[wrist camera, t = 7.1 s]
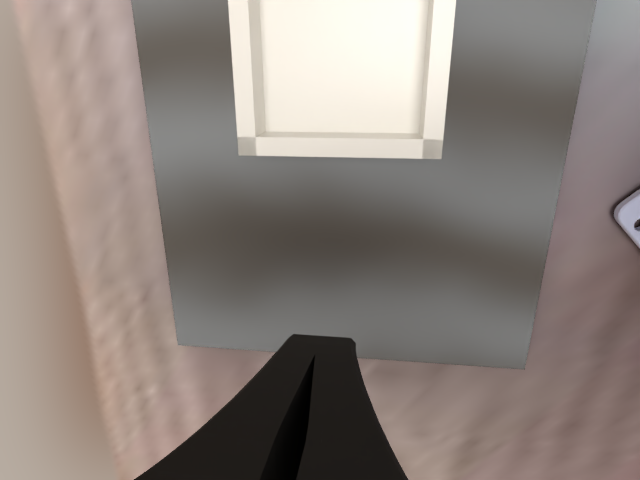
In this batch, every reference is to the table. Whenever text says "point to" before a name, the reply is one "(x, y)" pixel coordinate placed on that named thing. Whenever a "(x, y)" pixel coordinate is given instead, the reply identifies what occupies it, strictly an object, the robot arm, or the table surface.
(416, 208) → the overhang board
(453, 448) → the table surface
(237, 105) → the tray shell
